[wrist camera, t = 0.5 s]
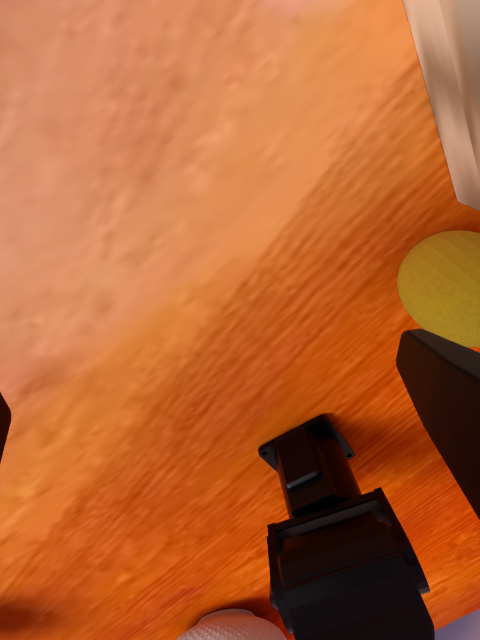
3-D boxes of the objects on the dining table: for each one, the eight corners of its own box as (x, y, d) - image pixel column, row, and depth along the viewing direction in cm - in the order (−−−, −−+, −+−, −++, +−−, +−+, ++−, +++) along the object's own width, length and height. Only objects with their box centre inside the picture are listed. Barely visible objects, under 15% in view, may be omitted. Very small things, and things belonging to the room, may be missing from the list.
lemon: (445, 191, 21) (568, 245, 14) (473, 260, 23) (587, 332, 17) (359, 251, 22) (435, 326, 15) (395, 309, 25) (472, 394, 18)
